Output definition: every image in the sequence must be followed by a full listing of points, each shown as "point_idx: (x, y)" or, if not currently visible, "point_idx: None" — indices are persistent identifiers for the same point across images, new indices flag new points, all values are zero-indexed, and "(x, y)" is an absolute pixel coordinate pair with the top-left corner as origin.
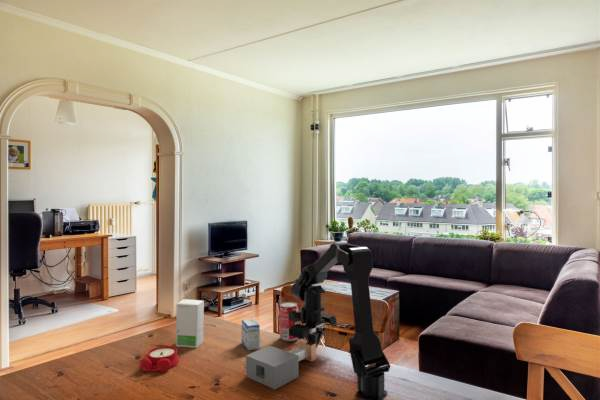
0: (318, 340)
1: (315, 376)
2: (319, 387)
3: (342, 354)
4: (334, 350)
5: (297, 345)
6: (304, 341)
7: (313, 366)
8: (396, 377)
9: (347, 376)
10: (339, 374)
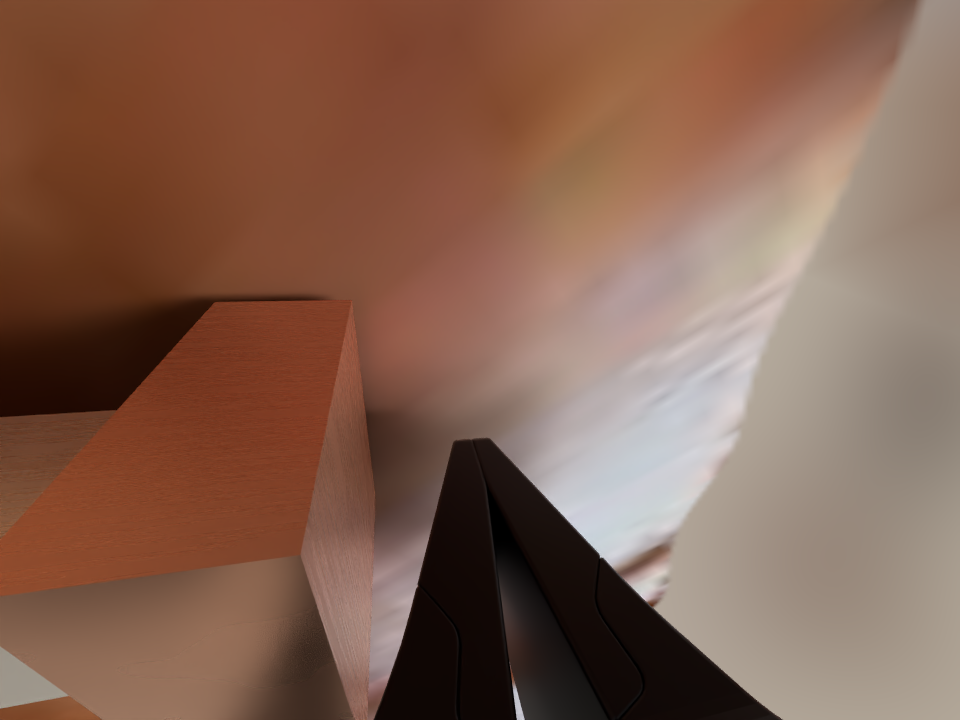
0: (520, 695)
1: None
2: (55, 715)
3: (641, 512)
4: (703, 434)
5: (86, 456)
6: (224, 676)
7: None
8: None
9: None
10: None
